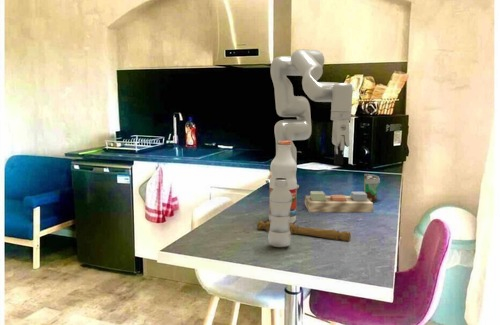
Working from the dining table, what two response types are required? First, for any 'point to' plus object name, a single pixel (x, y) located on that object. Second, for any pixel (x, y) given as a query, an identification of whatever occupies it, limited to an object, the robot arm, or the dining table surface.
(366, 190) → the food container
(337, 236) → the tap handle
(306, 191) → the dining table surface
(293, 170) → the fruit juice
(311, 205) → the button panel
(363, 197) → the slate button
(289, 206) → the plastic bottle
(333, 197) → the terracotta button
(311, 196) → the sage button
